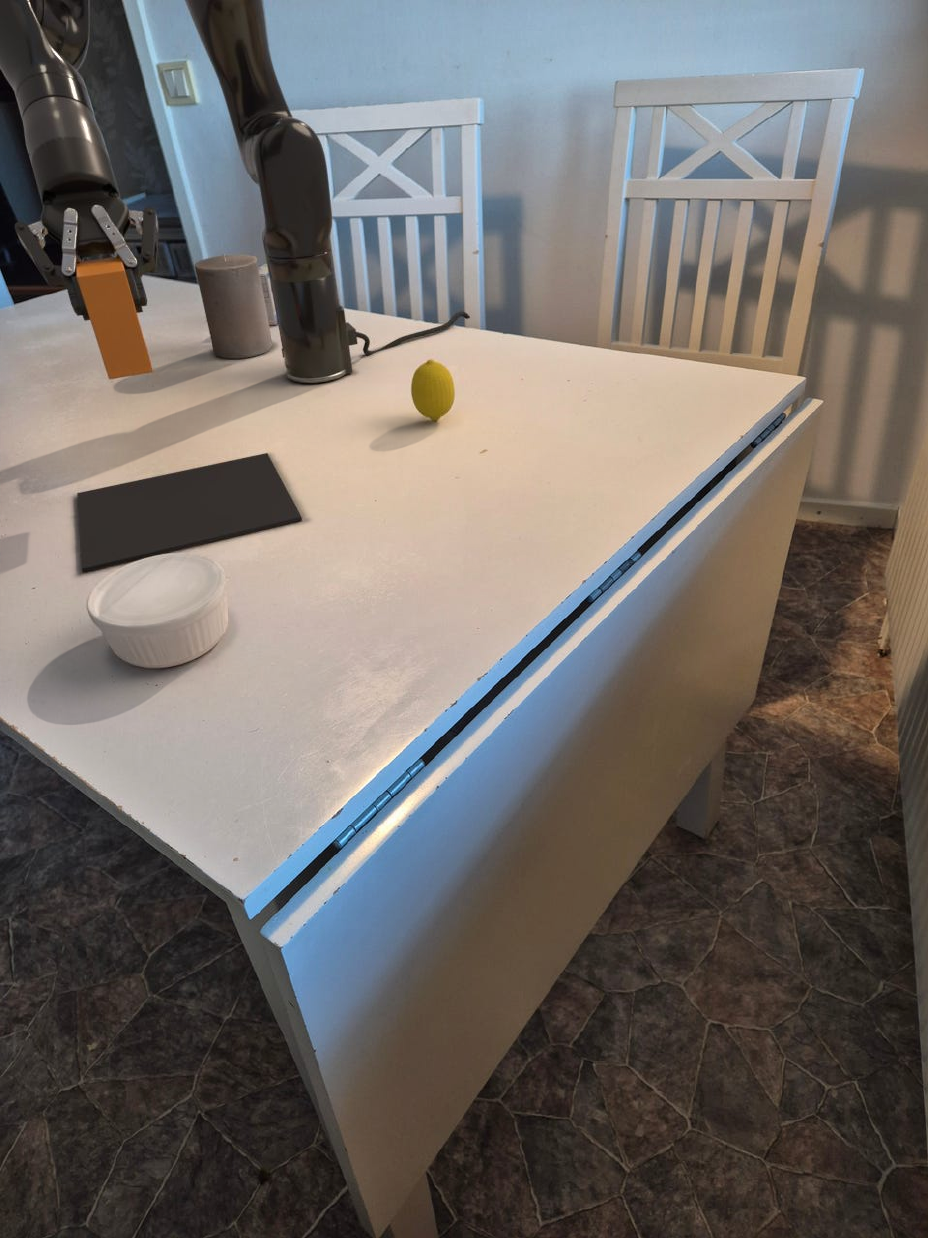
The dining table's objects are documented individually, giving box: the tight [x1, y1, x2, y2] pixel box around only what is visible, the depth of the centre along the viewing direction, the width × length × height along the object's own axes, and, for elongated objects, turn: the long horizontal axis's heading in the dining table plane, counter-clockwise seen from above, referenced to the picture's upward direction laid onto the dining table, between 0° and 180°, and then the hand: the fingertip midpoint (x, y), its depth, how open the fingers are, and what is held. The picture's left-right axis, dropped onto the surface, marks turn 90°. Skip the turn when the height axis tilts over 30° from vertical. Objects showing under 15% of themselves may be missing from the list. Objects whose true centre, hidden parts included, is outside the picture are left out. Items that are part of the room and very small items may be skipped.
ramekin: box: [86, 552, 229, 669], centre depth 68 cm, size 11×11×5 cm
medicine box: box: [258, 263, 278, 326], centre depth 145 cm, size 8×4×9 cm, turn 168°
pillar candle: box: [194, 251, 273, 360], centre depth 129 cm, size 10×10×15 cm
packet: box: [76, 256, 154, 380], centre depth 83 cm, size 4×7×10 cm, turn 22°
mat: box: [76, 452, 303, 573], centre depth 89 cm, size 22×18×1 cm
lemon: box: [410, 359, 456, 422], centre depth 103 cm, size 6×6×8 cm
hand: (112, 311), depth 81 cm, fingers closed on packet, 4 cm apart
